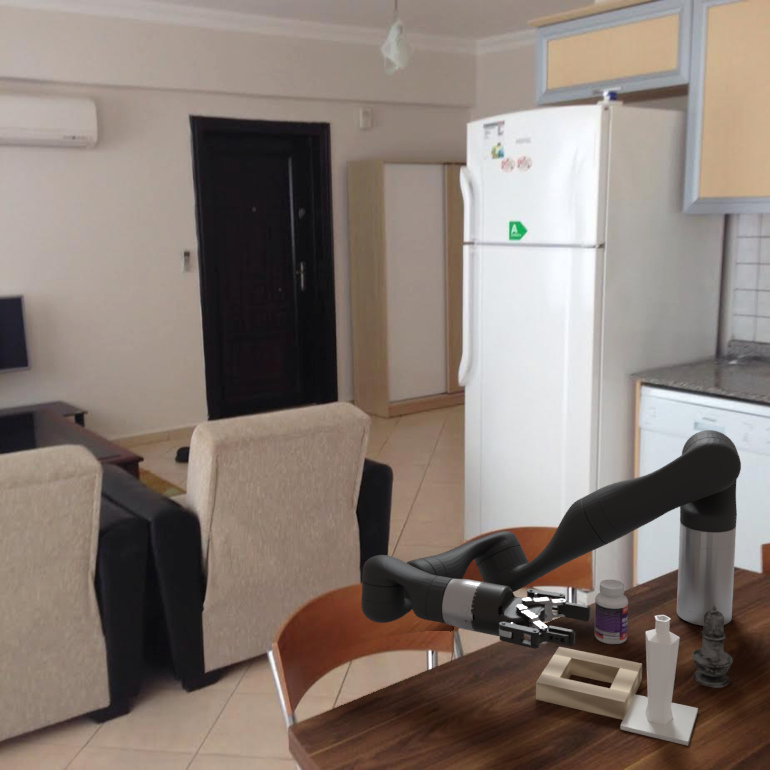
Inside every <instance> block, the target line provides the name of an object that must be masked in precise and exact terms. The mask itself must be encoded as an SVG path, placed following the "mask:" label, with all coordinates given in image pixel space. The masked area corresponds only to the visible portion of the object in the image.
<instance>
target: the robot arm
mask: <svg viewBox="0 0 770 770" xmlns="http://www.w3.org/2000/svg"><path fill="white" fill-rule="evenodd" d="M741 471H742V462H741V459H740V455H739V453H738V449H737V447H736V445H735V443H734V441H733V440H731V438H730V437H728V436H727V435H726V434H724V433H723V432H720V431H717V430H711V429H710V430H709V429H708V430H701V431H699V432H696V433H694V434H693V435H691V436H690V437H688V439H687V440H686V442H685V443H684V445H683V448H682V450H681V455H679V456H678V457H677V458H675V459H673V460H672V461H671V462H669V463H667V464H666V465H664V466H662V467H660V468H659V469H656V470H654V471H652V472H650V473H648V474H645V475H643V476H638V477H634V478H629V479H626V480H621V481H617V482H613V483H611V484H607V485H605V486H602V487H600V488H599V489H597V490H594V491H593V492H591V493H589V494H587V495H585V496H583V497H581V498H579V499H577V500H575V501H574V502H573V503H572V504H571V505H570V506H569V508H568V509H567V511H566V512H565V514H564V516H563V517H562V519H561V520H560V523H559V524H558V526H557V528H556V530H555V532H554V534H553V536H552V537H551V539H550V540H549V542H548V543H547V545H546V546H545V547H544V549H542V550H541V552H539V553H538V555H537V556H536V557H534V558H533V559H532V560H531V561H529V560H528V558H527V557H526V554H525V551H524V550H523V547H522V545H521V543H520V541H519V540H518V538H517V536H516V535H515V534H514V532H512V531H510V530H509V531H508V530H506V531H505V530H503V531H497V532H493V533H490V534H487V535H484V536H482V537H480V538H477V539H474V540H472V541H468V542H466V543H463V544H460V545H458V546H456V547H454V548H452V549H451V548H450V549H449V550H447V551H445V552H441V553H438V554H435V555H430V556H424V557H419V558H417V559H416V558H415V559H412V560H409V561H406V562H405V561H403V560H402V559H399V558H397V557H395V556H392V555H386V554H379V555H374V556H372V557H370V558H368V559H367V560H366V561H365V562H364V564H363V567H362V575H361V576H362V579H361V603H360V604H361V610H362V611H361V612H362V613H363V615H364V616H365V617H366V618H367V619H368V620H370V621H372V622H373V623H374V622H375V623H378V624H384V623H385V624H387V623H391V622H395V621H397V620H398V619H399V620H400V619H401V618H402V617H404V616H405V615H407V614H408V613H410V612H411V611H412V612H413V614H414V615H415V616H416V617H417V618H419V619H421V620H425V621H430V622H431V621H432V622H435V623H441V624H445V625H448V626H453V627H454V628H455V627H456V628H458V629H461V630H467V631H471V632H476V633H482V634H485V635H491V636H496V637H499V640H500V641H501V642H504V643H510V644H513V645H517V646H522V647H527V648H531V649H533V650H534V649H539V648H540V644H542V645H546V644H547V643H551V644H552V643H553V644H557V645H563V646H567V647H573V646H574V645H575V643H576V632H575V630H573V629H570V628H569V629H568V628H564V627H561V626H554V625H549V626H547V625H546V624H545V623H547V622H551V621H553V619H555V618H567V619H573V620H577V621H582V622H583V621H584V622H588V621H590V619H591V614H592V612H591V611H592V610H591V609H592V608H591V607H590V606H589V605H585V604H581V603H574V602H569V601H567V599H566V594H565V593H562V592H555V591H548V590H547V591H546V590H542V589H541V590H540V589H535V588H534V589H533V588H528V589H526V596H522V597H517V596H515V594H514V592H516V591H518V590H521V589H522V588H524V587H526V586H528V585H530V584H531V583H532V582H535V581H536V580H538V579H540V578H542V577H544V576H545V575H547V574H549V573H551V572H553V571H554V570H556V569H557V568H560V567H561V566H563V565H565V564H567V563H569V562H571V561H573V560H575V559H578V558H579V557H582V556H583V555H586V554H588V553H591V552H593V551H595V550H597V549H599V548H602V547H604V546H607V545H608V544H611V543H613V542H614V541H617V540H619V539H621V538H622V537H623V538H624V536H626V535H628V534H630V533H632V532H634V531H636V530H638V529H639V528H641V527H643V526H645V525H647V524H649V523H650V522H653V521H655V520H656V519H658V518H660V517H662V516H663V515H666V514H667V513H669V512H671V511H673V510H675V509H678V508H680V509H679V514H680V516H679V538H678V539H679V543H678V564H677V565H678V566H677V567H678V569H677V570H678V572H677V593H676V594H677V596H676V614H677V616H678V617H679V618H680V619H682V620H683V621H686V622H688V623H690V624H693V625H697V626H703V627H704V614H705V613H706V612H707V611H710V610H713V609H712V607H713V606H715V607H716V608H717V609H716V611H718V612H720V613H722V615H723V616H724V626H725V625H728V624H729V623H731V621H732V618H733V617H732V616H733V598H734V579H735V577H734V576H735V560H736V559H735V557H736V554H735V553H736V538H737V537H736V535H737V533H736V532H737V520H738V519H737V516H738V515H737V514H738V513H737V512H738V510H737V480H738V478H739V476H740V473H741ZM473 561H474V563H475V566H476V568H477V569H478V572H479V574H480V576H481V579H482V581H479V580H474V579H467V578H464V576H465V574H466V572H467V569H468V568H469V567H470V565H471V564H472V562H473ZM525 637H526V638H527V639H526V638H525Z"/></svg>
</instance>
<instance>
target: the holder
mask: <svg viewBox="0 0 770 770" xmlns="http://www.w3.org/2000/svg"><path fill="white" fill-rule="evenodd" d="M642 673H643V663H641V662H637V661H632V660H628V659H622V658H616V657H613V656H607V655H603V654H597V653H593V652H587V651H581V650H577V649H572V648H567V647H562V646H559V647H558V648H557V649H556V651H555V652H554V654H553V655H552V657H551V659H550V660H549V662H548V663H547V664H546V667H544V669H543V670H542V672H541V674H540V676H539V677H538V678H537V680H536V682H535V700H536V701H537V700H538V701H541V702H545V703H550V704H555V705H559V706H562V707H567V708H571V709H575V710H580V711H582V712H588V713H592V714H593V713H594V714H597V715H601V716H604V717H608V718H609V717H610V718H613V719H617V720H620V721H621V720H622V721H623V719H624V716H625V714H626V712H627V709H628V707H629V705H630V703H631V700H632V698H633V696H634V694H636V695H637V692H638V690H639V687H640V685H641V683H642V681H643V680H642V679H643V676H642V675H643V674H642ZM572 675H573V676H577V677H581V678H587V679H591V680H595V681H600V682H605V683H609V684H611V685H610V687H609V688H608V687H605V686H601V685H600V686H599V685H595V684H592V683H586V682H582V681H579V680H578V681H577V680H573V679H570V677H571V676H572Z"/></svg>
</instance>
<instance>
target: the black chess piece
mask: <svg viewBox="0 0 770 770" xmlns="http://www.w3.org/2000/svg"><path fill="white" fill-rule="evenodd" d="M712 609H713V610H710V611H707V612H706V613H705V614H704V626H703V628H702V629H701V631H700V635H701V636H702V640H701V641H702V642H701V648H700V647H699V648H697V649H695V650H693V651H692V653H691V657H692V659H693V662H694V666H695V667H696V668H695V669H696V671H693V674H692V678H693V680H694V681H695V682H697V683H698V684H699V685H701V686H705V687H709V688H717V689H718V688H724V687H727V686H728V685H729V684H730V681H731V680H730V678H729V676H728V675H726V673H728V671H729V670H730V668H731V665H732V664H733V661H734V660H733V658H732V656H731V655H730V654H729V653H728V652H725V650H724V641H725V639H726V638H727V634H726V633H725V632H724V628H725V627H724V626H725V625H724V616H723V615H722V613H720V612H718V611H716V609H717V608H716V607H715V606H713V607H712Z"/></svg>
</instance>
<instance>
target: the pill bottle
mask: <svg viewBox="0 0 770 770" xmlns="http://www.w3.org/2000/svg"><path fill="white" fill-rule="evenodd" d="M624 593H625V583H624V582H622V581H621V580H618V579H604V580H601V581H600V583H599V593H597V594H596V596H595V599H594V600H595V603H594V637H595V638H596V640H598V641H599V642H601V643H603V644H608V645H619V644H623V643H624V642H626V641H627V638H628V621H629V619H628V618H629V599H628V597H627V596H626V595H625V594H624Z"/></svg>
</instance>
